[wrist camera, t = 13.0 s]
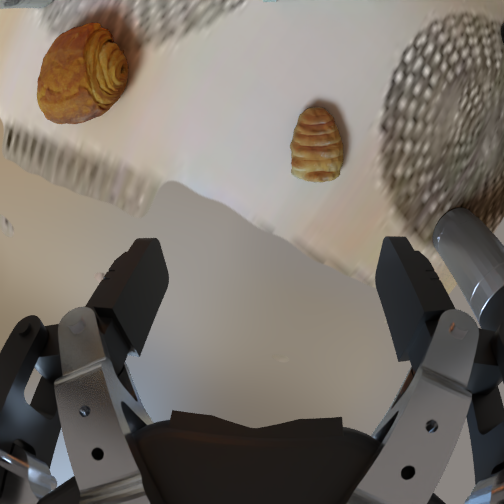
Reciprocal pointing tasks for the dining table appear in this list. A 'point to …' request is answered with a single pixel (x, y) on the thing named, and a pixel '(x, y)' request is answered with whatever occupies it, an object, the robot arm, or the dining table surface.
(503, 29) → the supplement bottle
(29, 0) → the travel mug
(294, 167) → the pastry
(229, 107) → the dining table surface
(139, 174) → the dining table surface
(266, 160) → the dining table surface
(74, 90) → the croissant
